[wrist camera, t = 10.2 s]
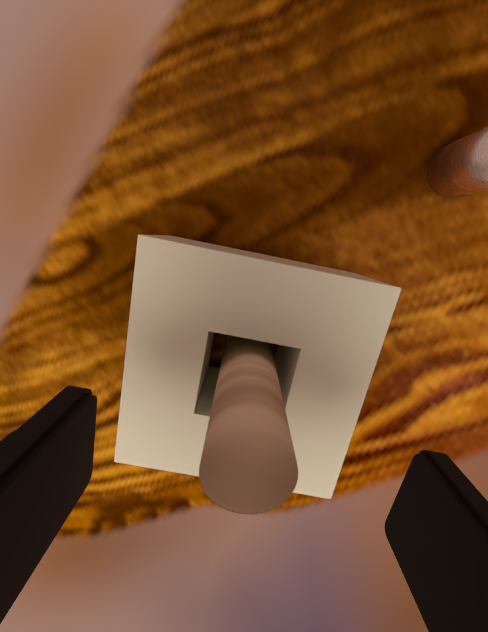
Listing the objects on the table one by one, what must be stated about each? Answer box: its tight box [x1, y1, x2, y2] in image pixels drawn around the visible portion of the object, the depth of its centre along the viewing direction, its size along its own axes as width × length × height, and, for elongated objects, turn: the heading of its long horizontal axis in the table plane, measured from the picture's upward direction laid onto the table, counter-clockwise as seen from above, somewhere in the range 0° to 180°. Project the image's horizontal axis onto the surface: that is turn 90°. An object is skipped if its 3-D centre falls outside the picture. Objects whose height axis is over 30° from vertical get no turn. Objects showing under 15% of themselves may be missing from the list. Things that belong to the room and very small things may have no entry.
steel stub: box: [428, 126, 488, 197], centre depth 15 cm, size 3×3×5 cm
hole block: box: [114, 235, 401, 499], centre depth 18 cm, size 12×12×6 cm
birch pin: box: [199, 335, 298, 514], centre depth 15 cm, size 3×3×12 cm
